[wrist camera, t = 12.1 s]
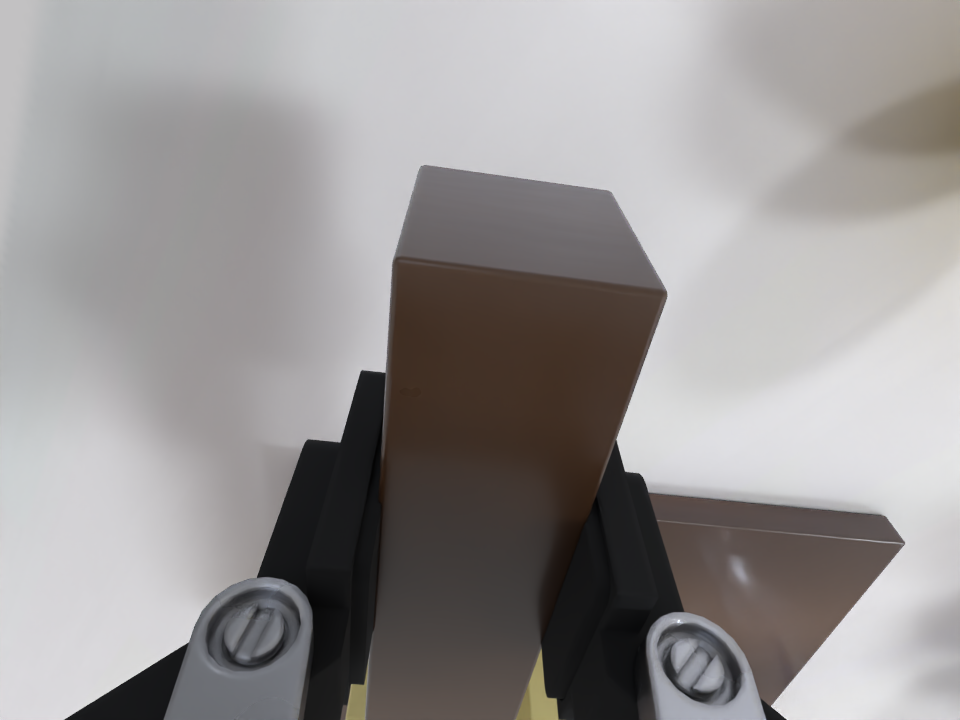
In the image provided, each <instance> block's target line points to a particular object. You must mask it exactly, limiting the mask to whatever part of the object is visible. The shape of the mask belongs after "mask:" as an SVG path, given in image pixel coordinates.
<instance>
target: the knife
mask: <svg viewBox="0 0 960 720" xmlns="http://www.w3.org/2000/svg"><path fill="white" fill-rule="evenodd" d="M666 299H667V291H666V289H665V287H664V285H663V284H662V282H661V280H660V278H659V276H658V275H657V273H656V271H655V269H654V267H653V266H652V264H651V262H650V260H649V259H648V257H647V255H646V253H645V251H644V250H643V248H642V246H641V244H640V243H639V241H638V239H637V237H636V235H635V234H634V232H633V230H632V228H631V226H630V225H629V223H628V221H627V219H626V218H625V216H624V214H623V212H622V210H621V209H620V207H619V205H618V203H617V201H616V200H615V198H614V196H613V194H612V193H611V192H609V191H607V190H599V189H592V188H585V187H578V186H571V185H564V184H556V183H549V182H542V181H535V180H528V179H521V178H514V177H506V176H499V175H492V174H485V173H478V172H471V171H464V170H456V169H449V168H442V167H435V166H428V165H424V166H421V167H420V169H419V172H418V175H417V179H416V182H415V186H414V189H413V193H412V196H411V200H410V203H409V207H408V210H407V214H406V217H405V220H404V224H403V227H402V231H401V234H400V238H399V241H398V245H397V248H396V252H395V255H394V259H393V264H392V280H391V297H390V313H389V330H388V346H387V362H386V379H385V395H384V412H383V428H382V445H381V461H380V477H379V494H378V500H379V503H381V518H380V532H379V547H378V562H377V577H376V591H375V606H374V621H373V633H372V640H371V646H370V652H369V659H368V675H367V691H366V708H365V720H516V718H517V715H518V712H519V709H520V706H521V704H522V701H523V698H524V695H525V693H526V690H527V687H528V684H529V681H530V679H531V676H532V673H533V670H534V667H535V665H536V662H537V659H538V656H539V653H540V651H541V644H542V641H543V638H544V635H545V633H546V630H547V627H548V624H549V622H550V619H551V616H552V613H553V610H554V608H555V605H556V602H557V599H558V596H559V594H560V591H561V588H562V585H563V582H564V580H565V577H566V574H567V571H568V568H569V566H570V563H571V560H572V557H573V555H574V552H575V549H576V546H577V543H578V541H579V538H580V535H581V532H582V529H583V527H584V524H585V523H586V522H587V520H588V517H589V514H590V511H591V508H592V506H593V503H594V500H595V497H596V494H597V492H598V489H599V486H600V483H601V481H602V478H603V475H604V472H605V469H606V467H607V464H608V461H609V458H610V455H611V453H612V450H613V447H614V444H615V441H616V439H617V436H618V433H619V430H620V428H621V425H622V422H623V419H624V416H625V414H626V411H627V408H628V405H629V402H630V400H631V397H632V394H633V391H634V388H635V386H636V383H637V380H638V377H639V375H640V372H641V369H642V366H643V363H644V361H645V358H646V355H647V352H648V349H649V347H650V344H651V341H652V338H653V335H654V333H655V330H656V327H657V324H658V322H659V319H660V316H661V313H662V310H663V308H664V305H665V302H666Z"/></svg>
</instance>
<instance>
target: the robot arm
mask: <svg viewBox="0 0 960 720" xmlns="http://www.w3.org/2000/svg"><path fill="white" fill-rule="evenodd" d="M385 379H386V373H382V372H373V371H364V370H362V371H361V373H360V376H359V379H358V383H357V386H356V390H355V393H354V397H353V401H352V404H351V408H350V411H349V415H348V418H347V422H346V425H345V429H344V433H343V436H342V440H341V443H338V442H329V441H319V440H309V439H308V440H307V441H306V442H305V444H304V446H303V449H302V451H301V454H300V457H299V460H298V463H297V466H296V468H295V471H294V474H293V477H292V480H291V483H290V485H289V488H288V491H287V494H286V497H285V499H284V502H283V505H282V508H281V511H280V514H279V516H278V519H277V522H276V525H275V528H274V531H273V533H272V536H271V539H270V542H269V545H268V548H267V550H266V553H265V556H264V559H263V562H262V565H261V567H260V570H259V573H258V576H257V578H253V579H247V580H245V581H242V582H239V583H237V584H234V585H231V586H230V587H228V588H227V589H225V590H224V591H222V592H221V593H219V594H218V595H216V596H215V597H214V598H213V599H212V600H211V602H210V603H209V604H208V605H207V606H206V607H205V608H204V609H203V611H202V612H201V614H200V616H199V618H198V620H197V622H196V624H195V626H194V629H193V632H192V635H191V638H190V641H189V643H187V644H186V645H184V646H182V647H181V648H179V649H177V650H176V651H174V652H173V653H171V654H169V655H168V656H166V657H165V658H163V659H161V660H160V661H158V662H157V663H155V664H153V665H152V666H150V667H148V668H147V669H145V670H144V671H142V672H140V673H139V674H137V675H136V676H134V677H132V678H131V679H129V680H128V681H126V682H124V683H123V684H121V685H119V686H118V687H116V688H115V689H113V690H111V691H110V692H108V693H107V694H105V695H103V696H102V697H100V698H99V699H97V700H95V701H94V702H92V703H90V704H89V705H87V706H86V707H84V708H82V709H81V710H79V711H78V712H76V713H74V714H73V715H71V716H70V717H68V718H66V719H65V720H340V719H341V714H342V708H343V705H348V699H349V694H350V688H351V684H357V685H364V683H365V677H366V671H367V665H368V659H369V652H370V646H371V640H372V633H373V621H374V606H375V591H376V577H377V562H378V547H379V532H380V518H381V503H379V500H378V494H379V477H380V461H381V445H382V428H383V412H384V395H385ZM541 650H542V662H543V673H544V685H545V692H546V696H547V698H555V699H557V709H558V719H559V720H786V719H785V718H784V717H783V716H781V715H780V714H779V713H778V712H777V711H775V710H774V709H773V708H772V707H771V706H769V705H768V704H767V703H766V702H765V701H763V700H762V699H761V698H760V697H759V694H758V690H757V687H756V684H755V680H754V677H753V673H752V670H751V668H750V665H749V663H748V661H747V659H746V656H745V654H744V652H743V651H742V650H741V648H740V647H739V646H738V644H737V643H736V642H735V640H734V639H733V638H732V637H731V636H730V635H729V634H728V633H726V632H725V631H724V630H723V629H722V628H721V627H720V626H718V625H716V624H715V623H713V622H711V621H709V620H708V619H706V618H704V617H701V616H698V615H695V614H691V613H687V612H684V609H683V605H682V602H681V599H680V596H679V592H678V589H677V586H676V582H675V579H674V576H673V572H672V569H671V566H670V563H669V559H668V556H667V553H666V549H665V546H664V543H663V539H662V536H661V533H660V530H659V526H658V523H657V520H656V516H655V513H654V510H653V506H652V503H651V500H650V497H649V493H648V490H647V487H646V484H645V481H644V479H643V477H642V476H641V475H640V474H639V473H630V472H625V471H624V467H623V463H622V459H621V456H620V452H619V448H618V445H617V441H615V444H614V447H613V450H612V453H611V455H610V458H609V461H608V464H607V467H606V469H605V472H604V475H603V478H602V481H601V483H600V486H599V489H598V492H597V494H596V497H595V500H594V503H593V506H592V508H591V511H590V514H589V517H588V520H587V522H586V523H585V524H584V527H583V529H582V532H581V535H580V538H579V541H578V543H577V546H576V549H575V552H574V555H573V557H572V560H571V563H570V566H569V568H568V571H567V574H566V577H565V580H564V582H563V585H562V588H561V591H560V594H559V596H558V599H557V602H556V605H555V608H554V610H553V613H552V616H551V619H550V622H549V624H548V627H547V630H546V633H545V635H544V638H543V641H542V644H541Z"/></svg>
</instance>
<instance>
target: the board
mask: <svg viewBox="0 0 960 720" xmlns="http://www.w3.org/2000/svg"><path fill="white" fill-rule="evenodd" d="M649 497H650V500H651V503H652V506H653V510H654V513H655V516H656V520H657V523H658V526H659V530H660V533H661V536H662V539H663V543H664V546H665V549H666V553H667V556H668V559H669V563H670V566H671V569H672V572H673V576H674V579H675V582H676V586H677V589H678V592H679V596H680V599H681V602H682V605H683V609H684V612H687V613H691V614H695V615H698V616H701V617H704V618H706V619H708V620H709V621H711V622H713V623H715V624H716V625H718V626H720V627H721V628H722V629H723V630H724V631H725V632H726V633H728V634H729V635H730V636H731V637H732V638H733V639H734V640H735V642H736V643H737V644H738V646H739V647H740V648H741V650H742V651H743V652H744V654H745V656H746V659H747V661H748V663H749V665H750V668H751V670H752V673H753V677H754V680H755V684H756V687H757V690H758V694H759V697H760V698H761V699H762V700H763V701H765V702H766V703H767V704H768V705H769V706H771V705H772V704H773V703H774V702H775V700H776V699H777V698H778V697H779V696H780V694H781V693H782V692H783V691H784V690H785V688H786V687H787V686H788V685H789V684H790V682H791V681H792V680H793V679H794V677H795V676H796V675H797V674H798V673H799V671H800V670H801V669H802V668H803V667H804V665H805V664H806V663H807V662H808V661H809V659H810V658H811V657H812V656H813V655H814V653H815V652H816V651H817V650H818V648H819V647H820V646H821V645H822V644H823V642H824V641H825V640H826V639H827V638H828V636H829V635H830V634H831V633H832V632H833V630H834V629H835V628H836V627H837V626H838V624H839V623H840V622H841V621H842V620H843V618H844V617H845V616H846V615H847V613H848V612H849V611H850V610H851V609H852V607H853V606H854V605H855V604H856V603H857V601H858V600H859V599H860V598H861V597H862V595H863V594H864V593H865V592H866V591H867V589H868V588H869V587H870V586H871V584H872V583H873V582H874V581H875V580H876V578H877V577H878V576H879V575H880V574H881V572H882V571H883V570H884V569H885V568H886V566H887V565H888V564H889V563H890V562H891V560H892V559H893V558H894V557H895V555H896V554H897V553H898V552H899V551H900V549H901V548H902V547H903V546H904V545H905V542H904V541H903V539H902V538H901V537H900V535H899V534H898V532H897V531H896V530H895V528H894V527H893V526H892V524H891V523H890V522H889V520H888V519H887V518H886V517H885V516H877V515H866V514H856V513H846V512H835V511H825V510H814V509H804V508H794V507H783V506H773V505H762V504H752V503H742V502H731V501H721V500H710V499H700V498H690V497H679V496H669V495H658V494H649ZM348 700H349V699H348ZM347 706H348V705H343V708H342V714H341V719H340V720H346V712H347Z"/></svg>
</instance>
